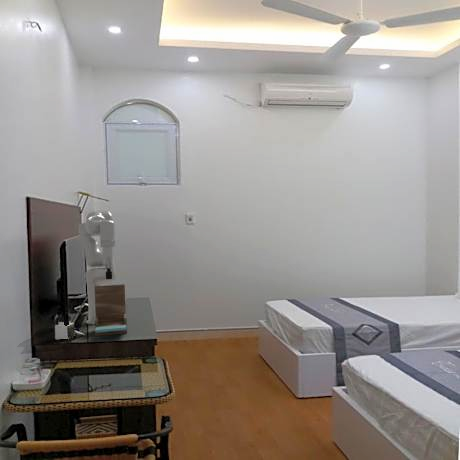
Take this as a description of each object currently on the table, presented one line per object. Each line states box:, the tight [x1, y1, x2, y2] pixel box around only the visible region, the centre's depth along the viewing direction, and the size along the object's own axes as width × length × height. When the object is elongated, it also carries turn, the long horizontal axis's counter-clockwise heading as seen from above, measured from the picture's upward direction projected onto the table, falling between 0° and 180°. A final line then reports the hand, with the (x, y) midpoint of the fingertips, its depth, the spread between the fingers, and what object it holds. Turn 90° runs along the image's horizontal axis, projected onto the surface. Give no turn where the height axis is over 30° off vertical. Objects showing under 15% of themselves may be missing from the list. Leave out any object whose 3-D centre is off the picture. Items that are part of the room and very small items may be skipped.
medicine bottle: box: [54, 314, 76, 340], centre depth 255 cm, size 7×7×12 cm
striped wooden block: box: [94, 283, 128, 337], centre depth 265 cm, size 15×16×24 cm
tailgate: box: [94, 325, 128, 332], centre depth 252 cm, size 1×15×10 cm
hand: (109, 279), depth 260 cm, fingers closed
